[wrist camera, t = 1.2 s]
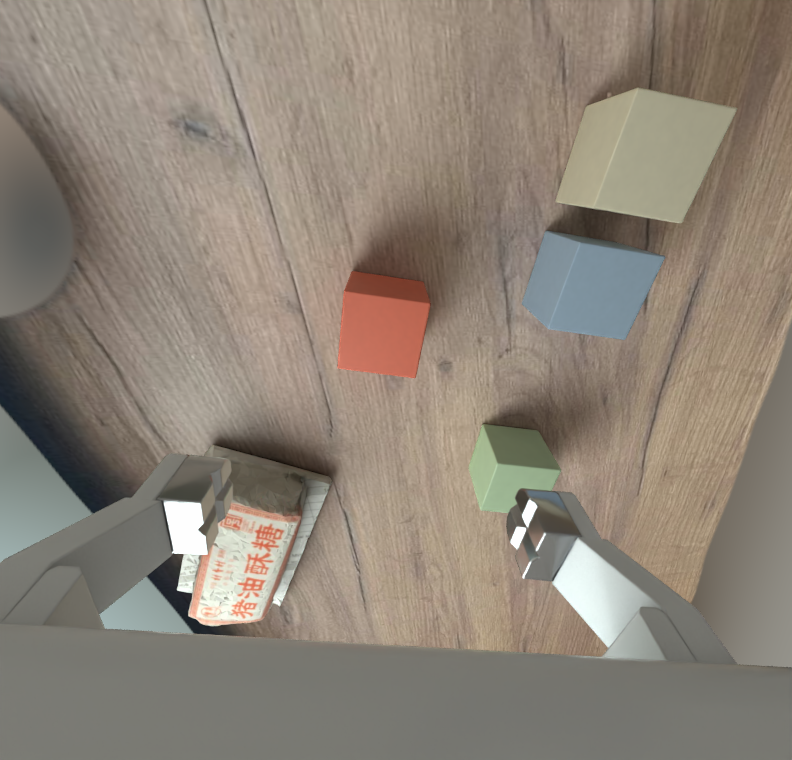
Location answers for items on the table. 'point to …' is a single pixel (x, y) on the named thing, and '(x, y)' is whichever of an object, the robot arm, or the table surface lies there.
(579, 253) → the blue-grey block
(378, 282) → the coral block
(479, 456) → the sage block
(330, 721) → the robot arm
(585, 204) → the cream block
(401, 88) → the table surface
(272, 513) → the packaged product
